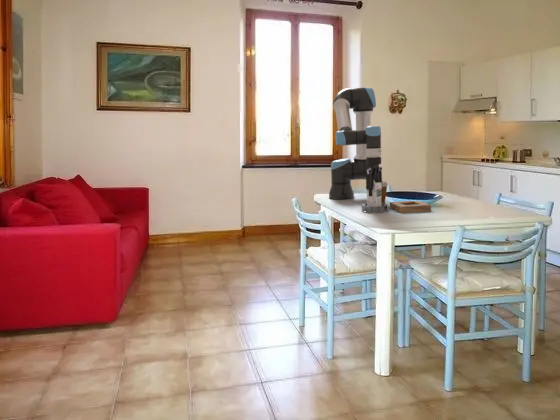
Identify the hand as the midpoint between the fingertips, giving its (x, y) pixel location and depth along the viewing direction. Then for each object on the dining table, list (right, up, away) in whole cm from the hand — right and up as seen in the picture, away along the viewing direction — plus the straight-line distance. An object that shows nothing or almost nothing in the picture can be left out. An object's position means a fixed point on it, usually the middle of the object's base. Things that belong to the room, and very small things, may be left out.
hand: (374, 201), depth 266 cm
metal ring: (0, -5, +1) cm, 5 cm away
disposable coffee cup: (+6, -1, +20) cm, 21 cm away
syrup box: (0, -5, +1) cm, 5 cm away
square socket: (+18, -4, -1) cm, 19 cm away
